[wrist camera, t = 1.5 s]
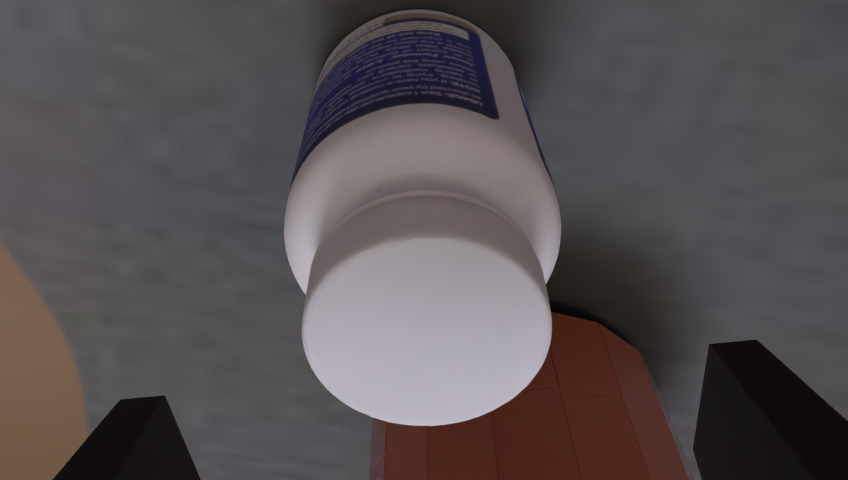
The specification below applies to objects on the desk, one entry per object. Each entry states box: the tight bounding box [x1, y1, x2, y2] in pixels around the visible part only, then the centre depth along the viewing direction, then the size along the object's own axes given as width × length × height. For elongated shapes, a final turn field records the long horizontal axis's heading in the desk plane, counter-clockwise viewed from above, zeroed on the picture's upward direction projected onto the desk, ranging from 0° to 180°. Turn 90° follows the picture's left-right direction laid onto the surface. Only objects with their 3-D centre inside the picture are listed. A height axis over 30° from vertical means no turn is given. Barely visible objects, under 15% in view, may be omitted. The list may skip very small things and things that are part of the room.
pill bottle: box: [284, 9, 561, 426], centre depth 15 cm, size 5×5×9 cm
